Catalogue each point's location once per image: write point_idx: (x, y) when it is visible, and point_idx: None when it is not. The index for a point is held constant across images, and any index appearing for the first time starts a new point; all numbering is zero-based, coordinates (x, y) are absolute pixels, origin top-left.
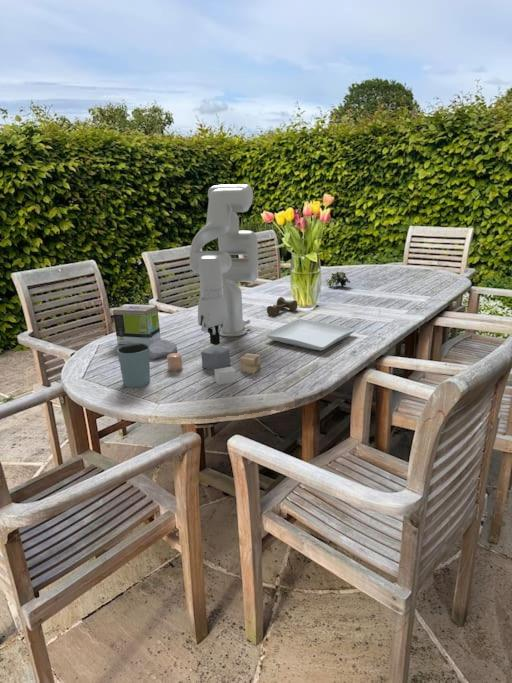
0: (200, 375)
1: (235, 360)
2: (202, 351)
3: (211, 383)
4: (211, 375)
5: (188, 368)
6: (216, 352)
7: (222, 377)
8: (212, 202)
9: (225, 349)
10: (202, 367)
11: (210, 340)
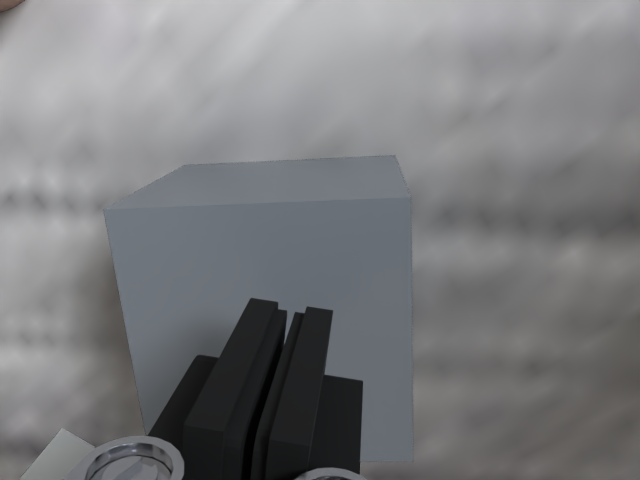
0: (43, 274)
1: (513, 334)
2: (122, 216)
3: (3, 439)
4: (106, 353)
5: (75, 51)
6: None
7: None
8: None
9: (370, 431)
10: (184, 166)
11: (188, 372)
